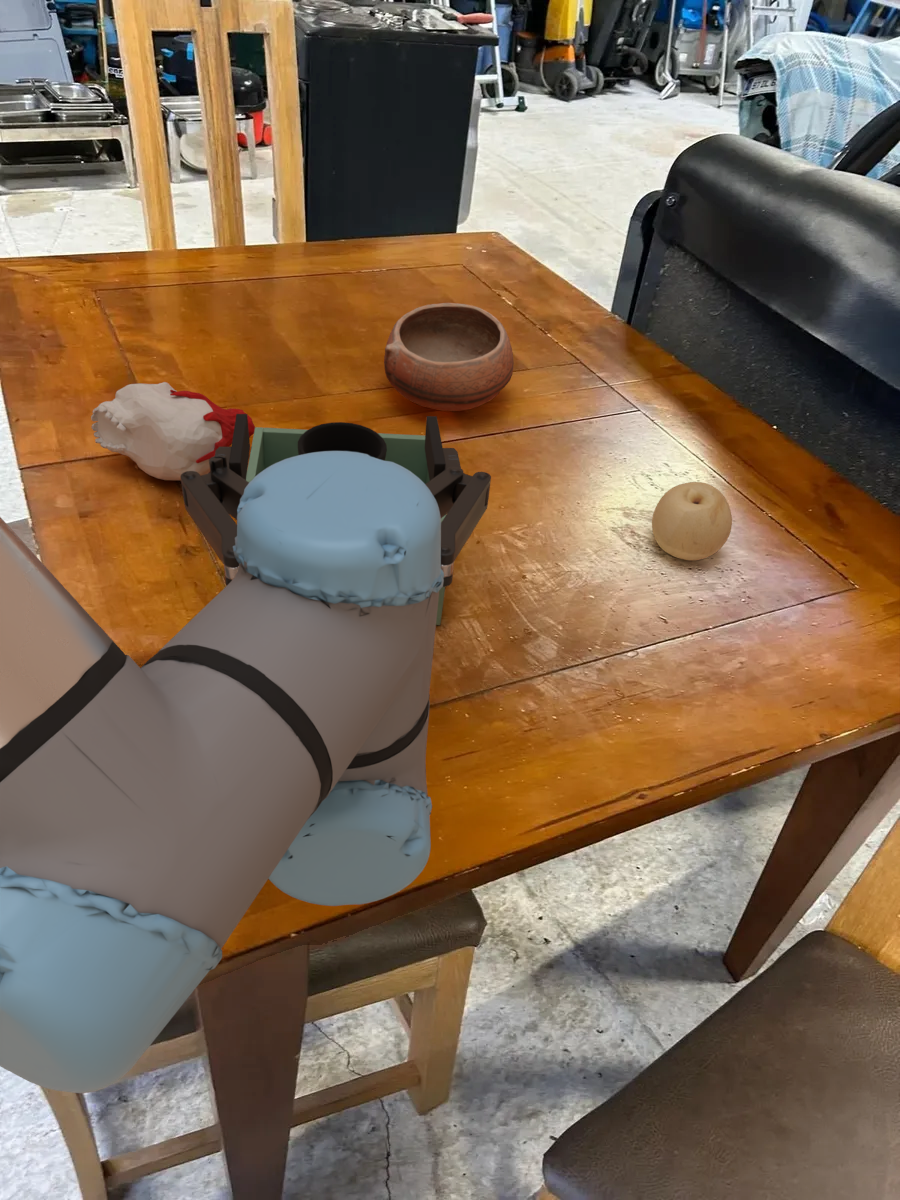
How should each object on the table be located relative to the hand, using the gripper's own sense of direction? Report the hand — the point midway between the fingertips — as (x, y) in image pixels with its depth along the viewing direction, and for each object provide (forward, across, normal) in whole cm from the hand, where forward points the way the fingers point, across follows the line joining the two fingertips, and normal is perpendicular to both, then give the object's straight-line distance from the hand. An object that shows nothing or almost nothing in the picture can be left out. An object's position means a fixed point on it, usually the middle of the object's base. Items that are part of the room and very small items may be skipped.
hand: (338, 431), depth 65 cm
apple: (+13, +36, -21) cm, 43 cm away
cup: (+10, 0, -19) cm, 21 cm away
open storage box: (+10, 0, -20) cm, 22 cm away
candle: (+25, -16, -19) cm, 36 cm away
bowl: (+42, +14, -20) cm, 49 cm away
